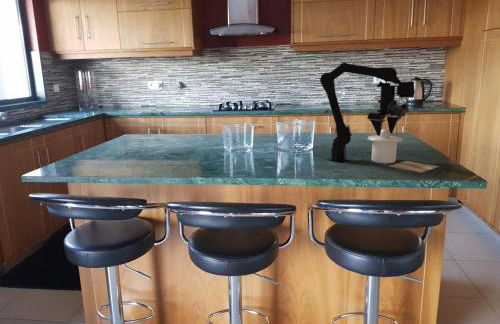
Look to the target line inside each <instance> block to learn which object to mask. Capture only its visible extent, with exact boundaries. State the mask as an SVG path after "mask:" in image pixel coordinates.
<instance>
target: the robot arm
mask: <svg viewBox="0 0 500 324" xmlns="http://www.w3.org/2000/svg"><path fill="white" fill-rule="evenodd" d="M345 73H349V74H357V75H363V76H369V77H374V78H376V79H379V80H380V81H379V82H378V83H377V84H376V85H375V87H377V88H380V96H379V97H380V99H378V100H377V103H379V109H377V111H369V112H368V114H367V120H368V121H370V122H371V124H372V126H373V128H374V131H375V133H376V135H378V136H380V135H381V129H382V127H383V124H384V123H385V118H386V119H387V120H386V121H387V125H388V126H387V127H388V130H390V133H389V134H393V133H394V130H395V128H396V126H397V123H398V121H399V120H401V119H403V117H405V116H406V114H407V113H409V104H406V103H404V104H398V101H397V100H396V98H395V97H396V96H398V98H399V99H402V98H405V99H410V98H411V99H413V98H414V97H415V91H416V90H415V81H413V80H412V81H411V80H410V81H401V80H400V78H399V77H398V72H397V70H396V69H395V68H394V67H382V66H381V67H371V66H365V65H358V64H351V63H347V62H341V64H339V65H338V66H337V67H335V69H334V68H333V70H331V71H330V72H325V73H322V74H321V75H320V77H319V78H320V79H319V82H320V84H321V86H322V89H323V90H324V93H325V94H326V96H327V99H328V102H329V106H330V109H331V113H332V116H333V120H334V123H335V129H336V137H335V138H334V139H333V140H332V144H331V145H332V146H331V153H330V154H331V157H330V158H328V160H329V161H331V162H337V163H343V162H346V161H349V158H347V145H348V144H350V142H351V139H352V132H351V129H350V124H348V125H346V122H345V121H344V118H343V114H342V110H341V106H340V104H339V100H338V96H337V93H336V83H335V82H336V81H335V80H336V79H337V78H339V77H340V76H341V75H343V74H345ZM381 80H382V81H385V82H382V81H381ZM390 82H391V83H393V84H391V83H390Z"/></svg>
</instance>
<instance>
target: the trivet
mask: <svg viewBox="0 0 500 324" xmlns="http://www.w3.org/2000/svg"><path fill="white" fill-rule="evenodd" d="M389 167H390V168H395V169H401V170H405V171H410V172H415V173H418V174H421V173H424V172H428V171H431V170H433V169H436V168H439V165H438V166H437V165H432V164H427V163H421V162H415V161H411V160H410V161H409V160H404V161H401V162H399V163H398V162H397V163H394V164H391V165H389Z"/></svg>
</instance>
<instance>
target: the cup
mask: <svg viewBox="0 0 500 324" xmlns="http://www.w3.org/2000/svg"><path fill="white" fill-rule="evenodd" d="M371 142H372V144H371V145H372V147H371V161H372V162H374V163H378V164H392V163H395V162H396V161H397V146H398V145H397V144H398V142H395V143H381V142H373V141H371Z"/></svg>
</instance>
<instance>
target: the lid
mask: <svg viewBox="0 0 500 324" xmlns="http://www.w3.org/2000/svg"><path fill="white" fill-rule="evenodd" d="M390 134H391V133H390V130H389V128H388V129H387V128H384V129H382V128H381V134H380V136H378V135H377V134H375V135H369V136H367V140H368V141H371V142H381V143H395V142H397V143H400V142H402V141H403V138H402V137H401V136H396V135H390Z"/></svg>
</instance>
